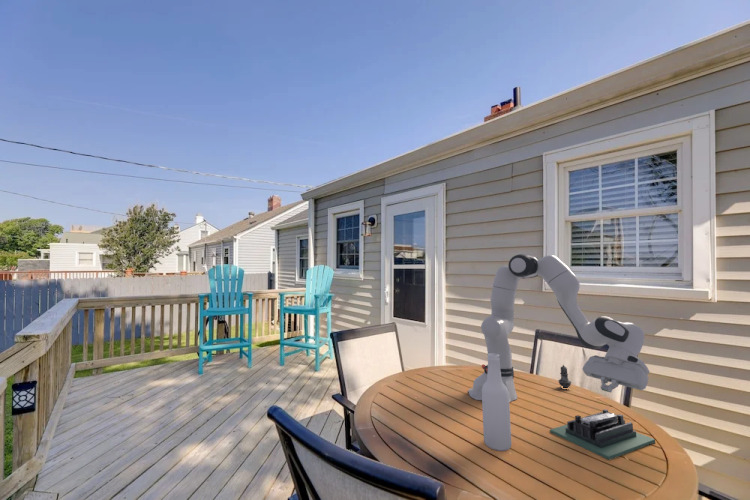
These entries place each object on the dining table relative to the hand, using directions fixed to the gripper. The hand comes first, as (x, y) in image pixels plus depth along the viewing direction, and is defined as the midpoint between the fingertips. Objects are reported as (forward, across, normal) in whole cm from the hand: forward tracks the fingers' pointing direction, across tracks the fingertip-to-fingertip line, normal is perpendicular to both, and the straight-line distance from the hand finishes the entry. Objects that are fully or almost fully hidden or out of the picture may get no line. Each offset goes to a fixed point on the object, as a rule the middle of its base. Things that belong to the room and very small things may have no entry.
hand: (605, 390), depth 114 cm
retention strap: (+10, 0, +3) cm, 11 cm away
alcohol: (+41, -11, -19) cm, 46 cm away
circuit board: (+14, 0, +7) cm, 16 cm away
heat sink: (+14, 0, +7) cm, 16 cm away
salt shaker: (-12, -39, +34) cm, 53 cm away
